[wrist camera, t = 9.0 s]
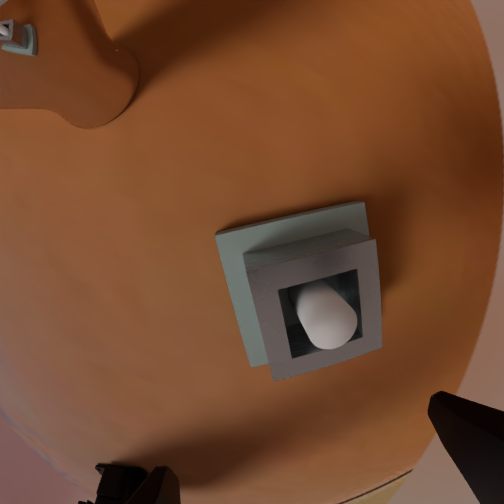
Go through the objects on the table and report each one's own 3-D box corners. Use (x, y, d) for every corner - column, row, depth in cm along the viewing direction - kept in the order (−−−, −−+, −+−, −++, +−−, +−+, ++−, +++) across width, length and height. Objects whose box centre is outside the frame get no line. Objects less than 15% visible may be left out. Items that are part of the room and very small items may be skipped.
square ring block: (358, 321, 18) (382, 347, 15) (266, 348, 18) (273, 381, 14) (348, 228, 16) (375, 238, 13) (242, 253, 16) (246, 271, 13)
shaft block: (369, 324, 19) (410, 368, 14) (249, 357, 19) (257, 417, 13) (356, 200, 17) (409, 209, 11) (215, 232, 17) (208, 256, 11)
